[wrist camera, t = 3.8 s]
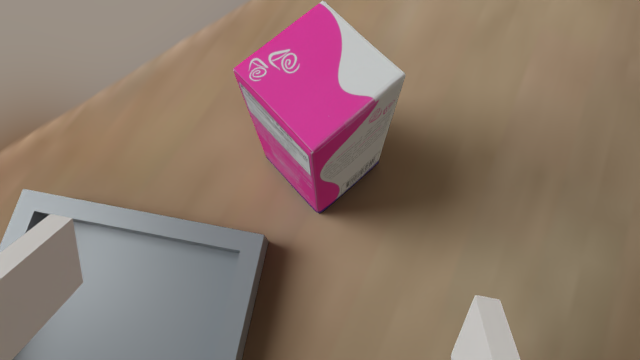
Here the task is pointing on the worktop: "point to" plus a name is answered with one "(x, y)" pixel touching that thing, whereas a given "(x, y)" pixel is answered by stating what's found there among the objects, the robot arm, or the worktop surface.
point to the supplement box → (320, 103)
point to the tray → (146, 285)
